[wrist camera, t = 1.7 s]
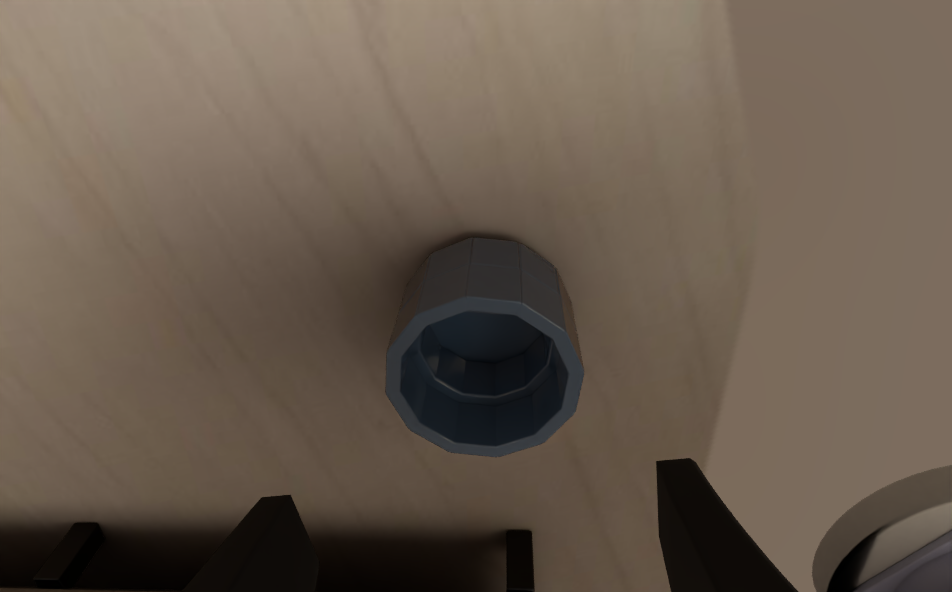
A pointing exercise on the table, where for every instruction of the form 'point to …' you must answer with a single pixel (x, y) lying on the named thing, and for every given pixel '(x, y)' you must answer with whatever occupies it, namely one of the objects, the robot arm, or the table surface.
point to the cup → (485, 350)
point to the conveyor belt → (88, 538)
